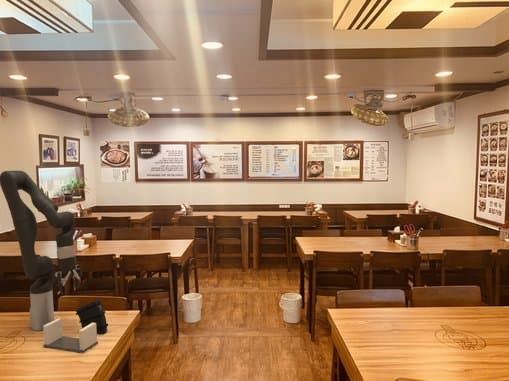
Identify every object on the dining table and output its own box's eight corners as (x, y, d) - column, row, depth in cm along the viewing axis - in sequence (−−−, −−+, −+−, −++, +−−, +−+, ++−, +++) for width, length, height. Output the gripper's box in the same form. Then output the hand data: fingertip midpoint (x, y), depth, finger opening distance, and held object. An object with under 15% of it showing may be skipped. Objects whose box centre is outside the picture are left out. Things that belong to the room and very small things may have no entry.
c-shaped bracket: (44, 344, 164) (43, 325, 163) (59, 336, 171) (58, 318, 171) (83, 350, 158) (82, 331, 157) (97, 341, 165) (96, 323, 165)
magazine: (110, 331, 174) (95, 301, 173) (86, 342, 176) (71, 312, 175) (114, 327, 177) (99, 298, 177) (90, 338, 179) (75, 309, 179)
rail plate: (43, 347, 163) (43, 344, 163) (60, 337, 172) (60, 335, 172) (82, 353, 157) (82, 350, 157) (98, 343, 166) (97, 340, 166)
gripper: (71, 252, 185) (75, 285, 186) (47, 259, 171) (51, 295, 172) (84, 252, 183) (88, 286, 184) (61, 259, 169) (65, 296, 170)
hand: (70, 290), depth 178 cm, fingers open, 8 cm apart
